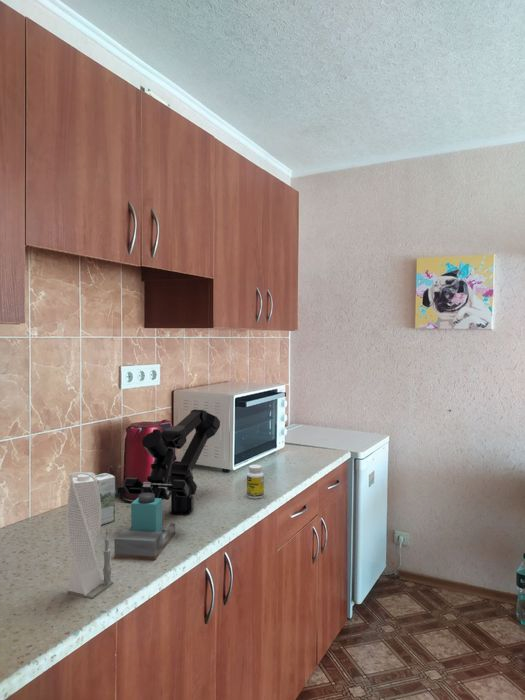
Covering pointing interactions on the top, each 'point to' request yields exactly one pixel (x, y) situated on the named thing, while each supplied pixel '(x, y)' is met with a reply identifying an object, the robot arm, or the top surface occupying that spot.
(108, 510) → the syrup box
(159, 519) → the teal tall block
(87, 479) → the skyscraper
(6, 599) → the top surface
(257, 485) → the pill bottle
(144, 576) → the top surface
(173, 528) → the mount
